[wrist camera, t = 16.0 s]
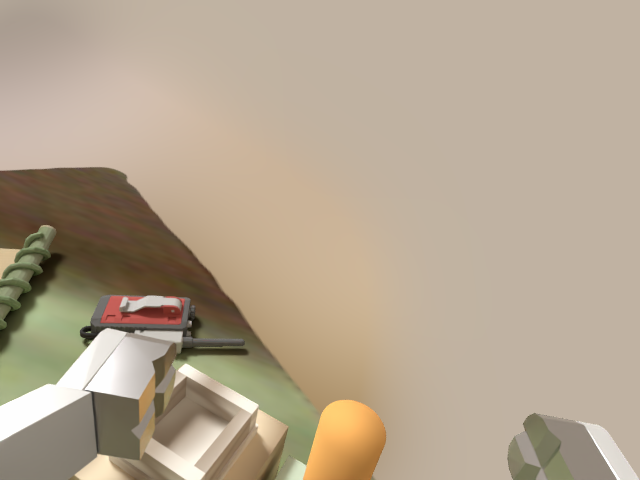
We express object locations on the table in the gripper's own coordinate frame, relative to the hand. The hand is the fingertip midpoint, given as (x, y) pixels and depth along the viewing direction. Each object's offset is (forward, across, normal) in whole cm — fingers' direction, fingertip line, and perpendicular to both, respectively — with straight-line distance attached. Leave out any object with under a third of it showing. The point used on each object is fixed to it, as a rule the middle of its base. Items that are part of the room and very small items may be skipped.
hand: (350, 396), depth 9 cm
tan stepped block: (+14, +8, +32) cm, 36 cm away
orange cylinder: (+9, -3, +26) cm, 28 cm away
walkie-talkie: (+34, +17, +33) cm, 50 cm away
